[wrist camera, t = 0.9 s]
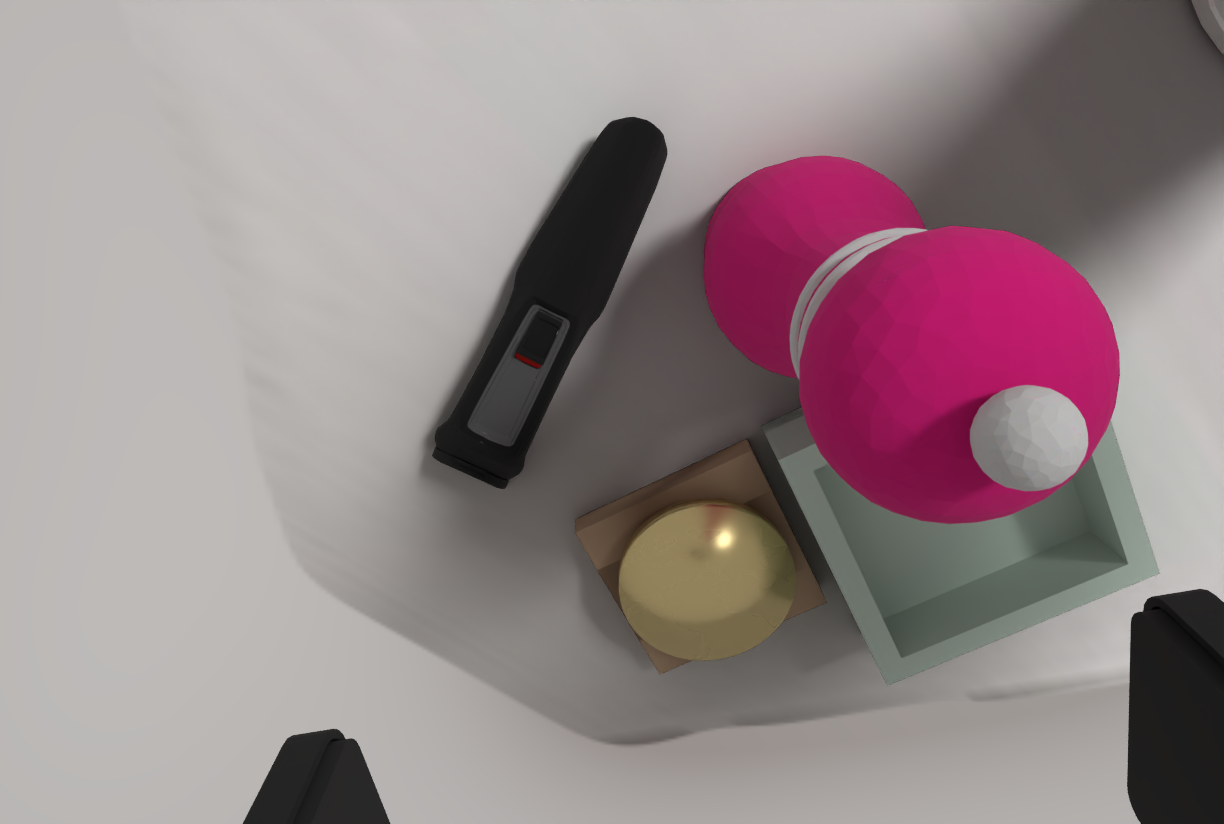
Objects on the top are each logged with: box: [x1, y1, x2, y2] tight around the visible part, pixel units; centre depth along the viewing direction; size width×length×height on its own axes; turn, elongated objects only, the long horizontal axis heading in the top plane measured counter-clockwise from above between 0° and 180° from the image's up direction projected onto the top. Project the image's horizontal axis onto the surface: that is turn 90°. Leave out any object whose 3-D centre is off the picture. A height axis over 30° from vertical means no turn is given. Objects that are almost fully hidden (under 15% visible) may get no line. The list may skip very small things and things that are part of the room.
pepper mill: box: [704, 156, 1120, 524], centre depth 23 cm, size 7×7×20 cm
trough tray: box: [761, 407, 1160, 685], centre depth 34 cm, size 12×12×4 cm
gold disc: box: [618, 498, 796, 661], centre depth 35 cm, size 7×7×2 cm
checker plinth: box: [575, 439, 827, 674], centre depth 36 cm, size 8×8×1 cm
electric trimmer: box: [432, 117, 667, 489], centre depth 31 cm, size 4×16×3 cm, turn 152°
